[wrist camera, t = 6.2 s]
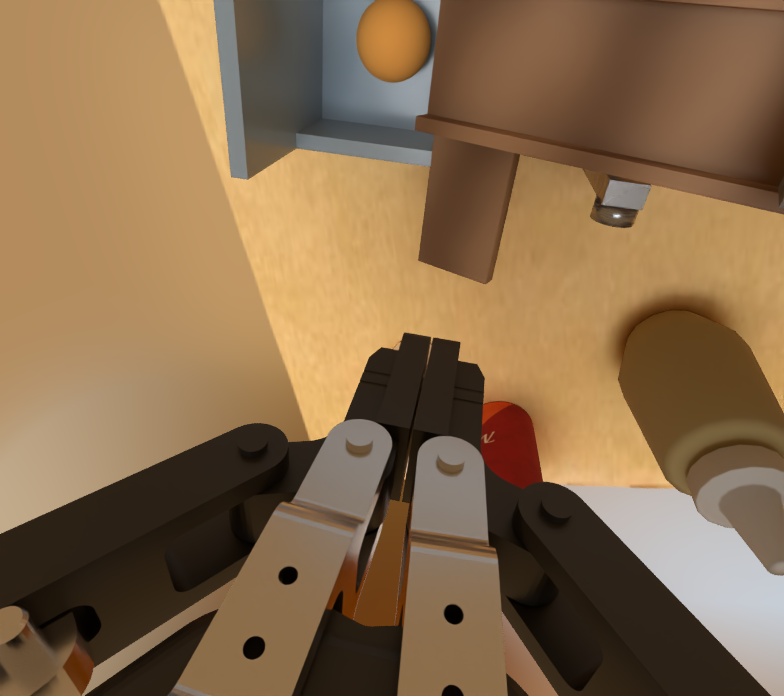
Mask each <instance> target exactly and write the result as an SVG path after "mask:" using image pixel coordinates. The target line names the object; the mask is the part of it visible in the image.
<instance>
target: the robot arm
mask: <svg viewBox="0 0 784 696" xmlns="http://www.w3.org/2000/svg"><path fill="white" fill-rule="evenodd" d="M430 343H431V337H427V336H422V335H416V334H410V333H404V334H403V338H402V341H401V344H400V347H399V350H394V349H388V348H382V347H381V348H380V349H379V350H378V351H376V352H375V353H374V354H373V355H371V356H370V357H369V359H368V362H367V364H366V367H365V369H364V372H363V374H362V377H361V379H360V383H359V385H358V387H357V390H356V392H355V395H354V397H353V400H352V402H351V405H350V407H349V410H348V412H347V415H346V417H345V420H344V422H342V423H340V424H338V425H336V426H335V427H334V428H333V429H332V430H331V431H330V433H329V434H328V436H327V437H325V438H322V439H318V440H314V441H302V442H288V440H287V438H286V436H285V434H284V433H283V432H282V431H281V430H280V429H278V428H276V427H274V426H271V425H268V424H261V423H254V424H247V425H243V426H241V427H238V428H236V429H233V430H231V431H229V432H227V433H224V434H222V435H220V436H218V437H216V438H213V439H212V440H209V441H207V442H205V443H202V444H200V445H198V446H195V447H193V448H191V449H189V450H187V451H184V452H182V453H180V454H178V455H176V456H173V457H171V458H169V459H167V460H164V461H162V462H160V463H158V464H155V465H153V466H151V467H149V468H147V469H144V470H142V471H140V472H138V473H135V474H133V475H131V476H129V477H126V478H125V479H122V480H120V481H118V482H115V483H113V484H111V485H109V486H107V487H104V488H102V489H100V490H98V491H95V492H93V493H91V494H88V495H86V496H84V497H82V498H80V499H77V500H75V501H73V502H71V503H68V504H66V505H64V506H62V507H59V508H57V509H55V510H53V511H51V512H48V513H46V514H44V515H42V516H39V517H37V518H35V519H33V520H31V521H28V522H26V523H24V524H22V525H19V526H17V527H15V528H13V529H11V530H8V531H6V532H4V533H1V534H0V696H82V694H83V693H84V691H85V689H86V687H87V686H88V684H89V682H90V679H91V676H92V673H93V668H94V667H96V666H97V665H99V664H100V663H102V662H104V661H105V660H107V659H108V658H110V657H111V656H113V655H115V654H116V653H118V652H119V651H121V650H122V649H124V648H125V647H127V646H129V645H130V644H132V643H133V642H135V641H137V640H138V639H140V638H141V637H143V636H144V635H146V634H148V633H149V632H151V631H152V630H154V629H155V628H157V627H159V626H160V625H162V624H163V623H165V622H166V621H168V620H169V619H171V618H173V617H174V616H176V615H177V614H179V613H181V612H182V611H184V610H185V609H187V608H188V607H190V606H192V605H193V604H194V603H196V602H198V601H199V600H201V599H203V598H204V597H206V596H207V595H209V594H210V593H212V592H214V591H215V590H217V589H218V588H220V587H221V586H223V585H225V584H226V583H228V582H229V581H231V580H232V579H234V578H236V577H237V578H236V579H235V581H234V583H233V585H232V587H231V588H230V590H229V592H228V594H227V596H226V597H225V599H224V601H223V603H222V604H221V606H220V608H219V609H217V610H215V611H212V612H210V613H208V614H205V615H203V616H201V617H199V618H198V619H196V620H194V621H192V622H190V623H189V624H187V625H186V626H184V627H183V628H181V629H180V630H178V631H177V632H175V633H174V634H173V635H171V636H170V637H168V638H167V639H165V640H164V641H162V642H161V643H160V644H158V645H157V646H155V647H154V648H152V649H151V650H150V651H148V652H147V653H145V654H144V655H142V656H141V657H139V658H138V659H137V660H135V661H134V662H132V663H131V664H129V665H128V666H127V667H125V668H124V669H122V670H121V671H119V672H118V673H116V674H115V675H114V676H112V677H111V678H109V679H108V680H107V681H105V682H104V683H102V684H101V685H99V686H98V687H96V688H95V689H93V690H92V691H91V692H89V693H88V694H86V695H85V696H528V694H527V693H526V692H525V691H524V690H523V689H522V688H521V687H520V686H519V685H518V684H517V682H515V681H514V680H513V679H512V678H511V677H510V676H509V675H508V674H507V673H506V667H505V652H504V638H503V624H502V612H503V613H504V615H505V616H506V618H507V619H508V621H509V622H510V624H511V625H512V627H513V628H514V630H515V631H516V633H517V634H518V636H519V637H520V639H521V640H522V642H523V643H524V645H525V646H526V648H527V649H528V651H529V652H530V654H531V655H532V657H533V658H534V660H535V661H536V663H537V664H538V666H539V667H540V669H541V670H542V672H543V673H544V675H545V676H546V678H547V679H548V681H549V682H550V684H551V685H552V687H553V688H554V690H555V691H556V693H557V694H558V695H559V696H771V695H770V694H769V693H768V692H767V691H766V690H765V689H764V688H763V687H762V686H761V685H760V684H759V683H758V682H757V681H756V680H755V679H754V678H753V677H752V676H751V674H750V673H749V672H747V670H746V669H745V668H744V667H743V666H742V665H741V664H740V663H739V662H738V661H737V660H736V659H735V658H734V657H733V656H732V655H731V654H730V653H729V652H728V651H727V650H726V648H724V646H722V644H721V643H720V642H719V641H718V640H717V639H716V638H715V637H714V636H713V635H712V634H711V633H710V632H709V631H708V630H707V629H706V628H705V627H704V626H703V625H702V624H701V623H700V621H699V620H698V619H697V618H695V616H694V615H693V614H692V613H691V612H690V611H689V610H688V609H687V608H686V607H685V606H684V605H683V604H682V603H681V602H680V601H679V600H678V599H677V598H676V597H675V596H674V595H673V593H672V592H670V590H669V589H668V588H667V587H666V586H665V585H664V584H663V583H662V582H661V581H660V580H659V579H658V578H657V577H656V576H655V575H654V574H653V573H652V572H651V571H650V570H649V569H648V568H647V567H646V566H645V564H644V563H643V562H642V561H641V560H640V559H639V558H638V557H637V556H636V555H635V554H634V553H633V552H632V551H631V550H630V549H629V548H628V547H627V546H626V545H625V544H624V543H623V542H622V541H621V540H620V538H619V537H618V536H617V535H616V534H615V533H614V532H613V531H612V530H611V529H610V528H609V527H608V526H607V525H606V524H605V523H604V522H603V521H602V520H601V519H600V518H599V517H598V516H597V515H596V514H595V513H594V512H593V511H592V509H591V508H590V507H589V506H588V505H587V504H586V503H585V502H584V501H583V500H582V499H581V498H580V497H579V496H578V495H576V494H575V493H574V492H572V491H571V490H569V489H568V488H566V487H563V486H561V485H558V484H555V483H550V482H536V483H533V484H530V485H528V486H527V487H525V488H524V489H522V488H520V487H518V486H516V485H514V484H512V483H509V482H507V481H506V480H504V479H502V478H500V477H499V476H498V475H496V474H495V473H494V472H493V471H492V470H491V469H490V468H489V467H488V466H487V464H486V463H485V461H484V459H483V457H482V453H481V436H482V417H483V398H484V380H485V378H484V376H483V374H482V372H481V370H480V369H479V367H478V365H477V364H472V363H467V362H461V361H458V357H459V349H460V342H457V341H451V340H445V339H439V338H433V341H432V346H431V351H430V355H429V349H430ZM428 355H429V360H428ZM427 362H428V364H427ZM426 368H427V369H426ZM408 459H409V460H408ZM407 463H408V467H407ZM406 468H407V473H406ZM405 473H406V480H405V487H404V493H403V500H402V502H406V503H409V510H408V516H407V522H406V528H405V534H404V542H403V552H402V562H401V572H400V581H399V591H398V600H397V609H396V618H395V626H375V627H370V626H364V625H361V624H359V623H357V622H356V621H354V620H353V618H354V614H355V610H356V606H357V603H358V599H359V596H360V593H361V590H362V587H363V584H364V581H365V578H366V575H367V572H368V569H369V566H370V563H371V560H372V557H373V554H374V551H375V548H376V545H377V542H378V539H379V536H380V533H381V529H382V525H383V521H384V520H385V517H386V514H387V510H388V506H389V502H390V499H392V500H396V501H399V500H400V496H401V491H402V486H403V482H404V477H405Z"/></svg>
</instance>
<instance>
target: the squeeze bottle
mask: <svg viewBox="0 0 784 696" xmlns="http://www.w3.org/2000/svg"><path fill="white" fill-rule="evenodd" d="M618 381H619V384H620V387H621V390H622V393H623V396H624V398H625V400H626V402H627V404H628V406H629V408H630V410H631V412H632V413H633V415H634V417H635V419H636V421H637V423H638V425H639V427H640V429H641V431H642V433H643V435H644V437H645V439H646V441H647V443H648V445H649V447H650V449H651V451H652V453H653V455H654V457H655V459H656V461H657V462H658V464H659V466H660V468H661V470H662V472H663V474H664V476H665V478H666V480H667V481H668V482H670V483H671V484H672V485H673V486H674V487H675V488H676V489H677V490H678V491H680V492H682V493H685V494H688V495H690V496H692V498H693V501H694V503H695V506H696V508H697V511H698V512H699V513H700V514H701V515H702V516H703V517H704V518H705V519H707V520H708V521H710V522H712V523H715V524H718V525H720V526H723V527H727V528H735V530H736V531H737V532H738V534H739V535H740V536H741V537H742V539H743V540H744V541H745V542H746V544H747V545H748V546H749V548H750V549H751V550H752V551H753V552H754V554H755V555H756V556H757V558H758V559H759V560H760V562H761V563H762V564H763V565H764V567H765V568H766V569H767V571H769V572H770V573H772V574H774V575H784V413H783V411H782V409H781V407H780V405H779V403H778V401H777V399H776V397H775V395H774V393H773V391H772V389H771V387H770V386H769V384H768V382H767V380H766V378H765V376H764V374H763V372H762V370H761V368H760V366H759V364H758V362H757V360H756V358H755V356H754V354H753V352H752V350H751V348H750V347H749V345H748V344H747V343H746V342H745V341H744V340H743V339H742V338H741V337H740V336H739V335H738V334H737V333H736V331H734V330H732V329H729V328H727V327H725V326H723V325H720V324H718V323H716V322H714V321H711V320H709V319H707V318H705V317H703V316H700V315H697V314H695V313H692V312H690V311H679V310H669V311H665V312H662V313H658V314H655V315H652V316H650V317H649V318H647V319H645V320H644V321H642V322H641V323H639V324H638V325H637V326H636V327H635V328H634V330H633V331H632V332H631V334H630V335H629V336H628V339H627V343H626V347H625V351H624V355H623V359H622V364H621V368H620V373H619V377H618Z"/></svg>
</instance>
